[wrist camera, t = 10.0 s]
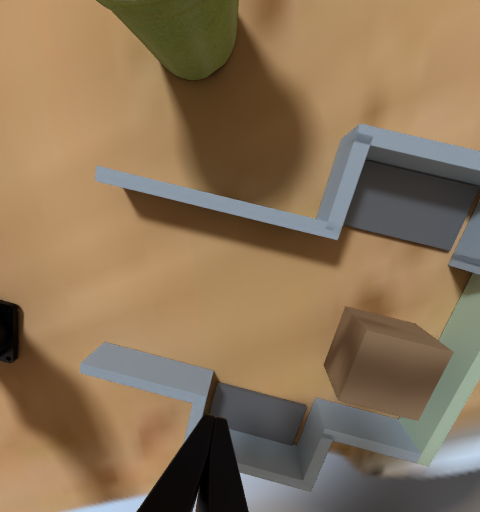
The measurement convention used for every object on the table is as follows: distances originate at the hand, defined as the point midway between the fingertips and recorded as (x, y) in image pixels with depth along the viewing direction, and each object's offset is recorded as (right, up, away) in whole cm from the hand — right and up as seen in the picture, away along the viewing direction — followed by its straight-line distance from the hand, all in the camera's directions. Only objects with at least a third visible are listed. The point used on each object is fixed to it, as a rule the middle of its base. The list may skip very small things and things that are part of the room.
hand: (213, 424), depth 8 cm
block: (+12, -2, +12) cm, 17 cm away
